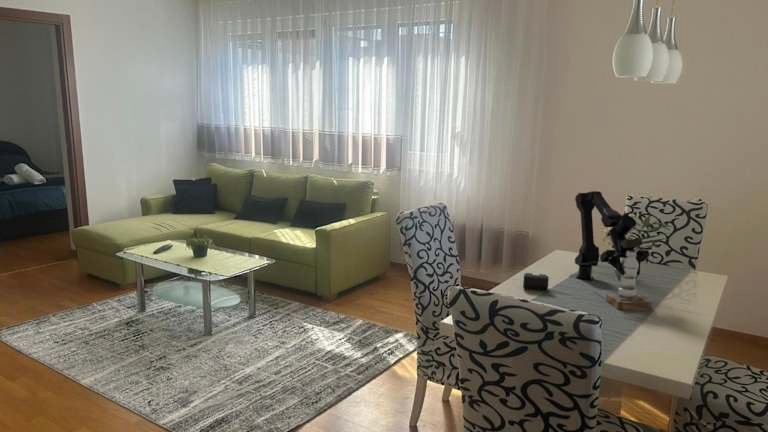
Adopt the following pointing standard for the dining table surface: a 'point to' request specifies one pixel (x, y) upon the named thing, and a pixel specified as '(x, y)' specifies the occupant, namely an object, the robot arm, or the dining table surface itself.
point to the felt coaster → (604, 292)
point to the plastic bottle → (628, 276)
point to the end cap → (535, 282)
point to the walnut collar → (629, 303)
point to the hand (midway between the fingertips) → (630, 274)
